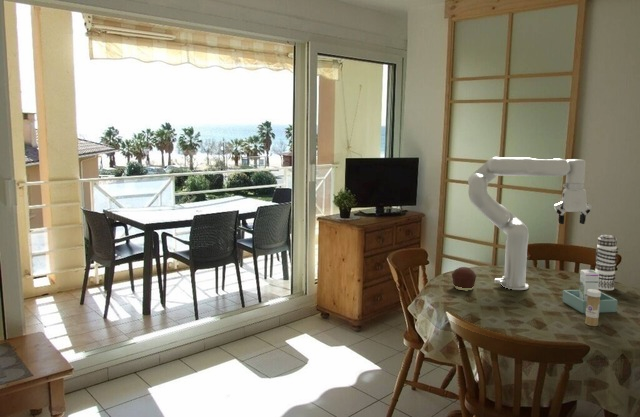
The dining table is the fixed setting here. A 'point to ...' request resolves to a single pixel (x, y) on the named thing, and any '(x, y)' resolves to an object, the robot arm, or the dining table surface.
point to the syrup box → (588, 282)
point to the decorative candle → (606, 261)
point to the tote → (574, 301)
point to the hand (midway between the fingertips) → (571, 223)
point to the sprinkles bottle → (592, 307)
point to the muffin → (464, 277)
